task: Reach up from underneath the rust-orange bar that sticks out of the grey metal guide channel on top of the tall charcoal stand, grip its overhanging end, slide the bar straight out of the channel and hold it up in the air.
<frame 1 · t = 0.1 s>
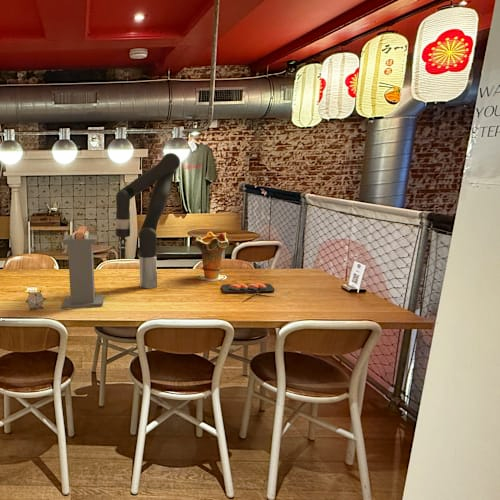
hand: (122, 256, 225), 17 cm above the table, tool pointing down, fingers open, 8 cm apart
decorative vase: (212, 277, 255), on the table
game die: (36, 309, 191), on the table
bar: (81, 235, 202), point 32 cm above the table, touching stand
sushi plate: (249, 295, 224), on the table
stand: (83, 301, 202), on the table
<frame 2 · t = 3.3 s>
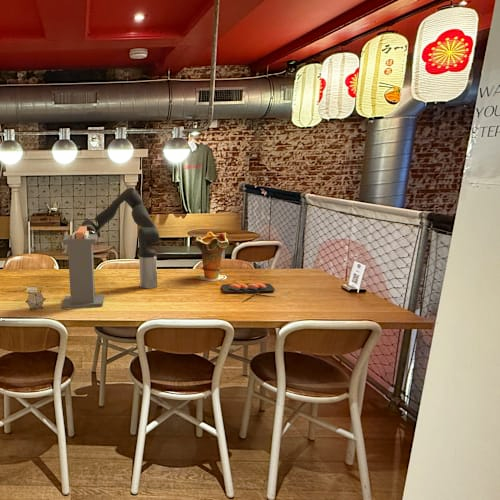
hand: (85, 236, 222), 28 cm above the table, tool horizontal, fingers open, 8 cm apart
nothing on the table moved.
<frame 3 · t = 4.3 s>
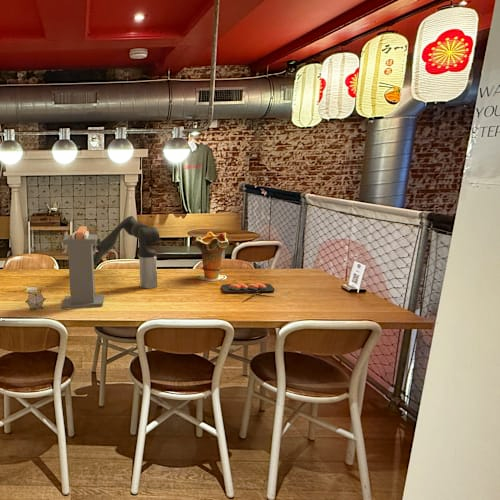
hand: (85, 238, 220), 27 cm above the table, tool pointing upward, fingers open, 8 cm apart
nothing on the table moved.
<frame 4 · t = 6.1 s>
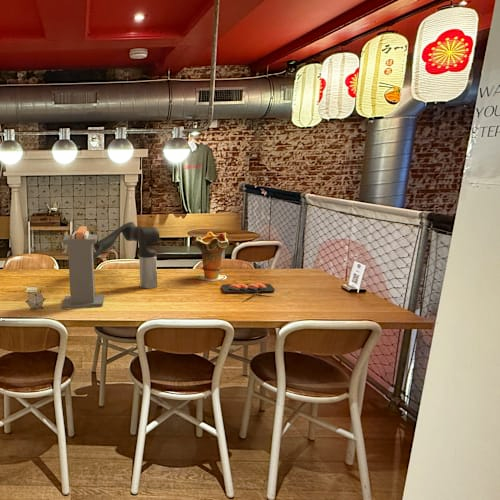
hand: (82, 233, 212), 31 cm above the table, tool pointing upward, fingers open, 8 cm apart
nothing on the table moved.
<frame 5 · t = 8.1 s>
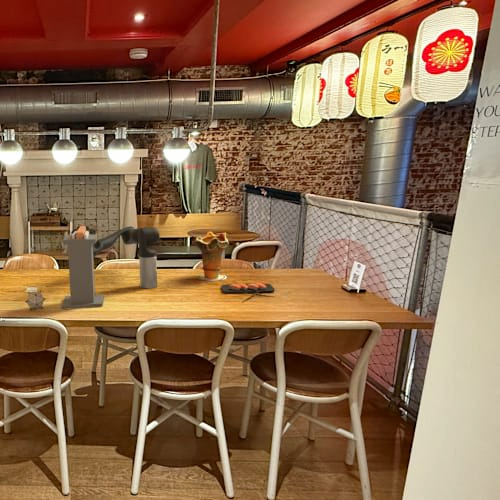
hand: (82, 227, 207), 35 cm above the table, tool pointing upward, fingers closed on bar, 3 cm apart
bar: (81, 235, 202), point 32 cm above the table, touching gripper, stand
everything else where it was.
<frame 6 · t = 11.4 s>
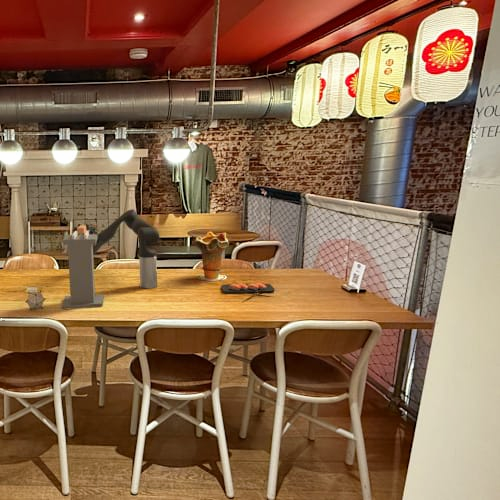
hand: (82, 225, 219), 34 cm above the table, tool pointing upward, fingers closed on bar, 3 cm apart
bar: (82, 232, 214), point 32 cm above the table, touching gripper
everything else where it was.
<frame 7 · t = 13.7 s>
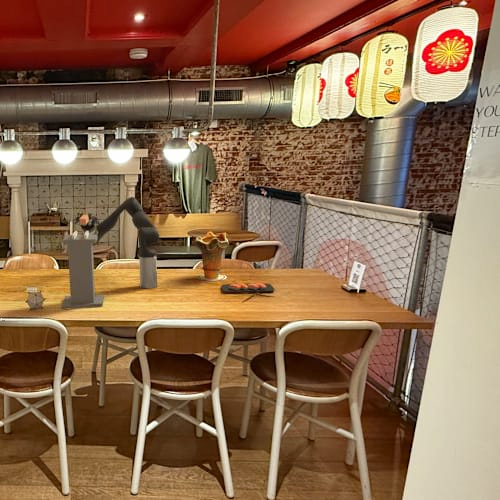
hand: (85, 215, 223), 39 cm above the table, tool pointing upward, fingers closed on bar, 3 cm apart
bar: (84, 222, 218), point 36 cm above the table, touching gripper
everything else where it was.
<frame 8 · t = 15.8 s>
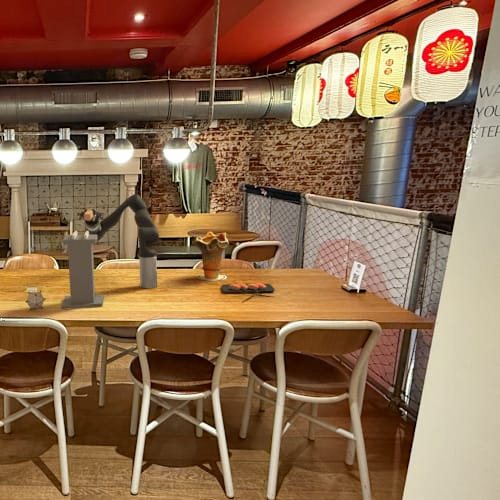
hand: (89, 210, 226), 41 cm above the table, tool pointing upward, fingers closed on bar, 3 cm apart
bar: (89, 217, 222), point 38 cm above the table, touching gripper
everything else where it was.
at the end: bar moved 22.7 cm from its start; bar touching gripper; bar point 38.1 cm above the table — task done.
